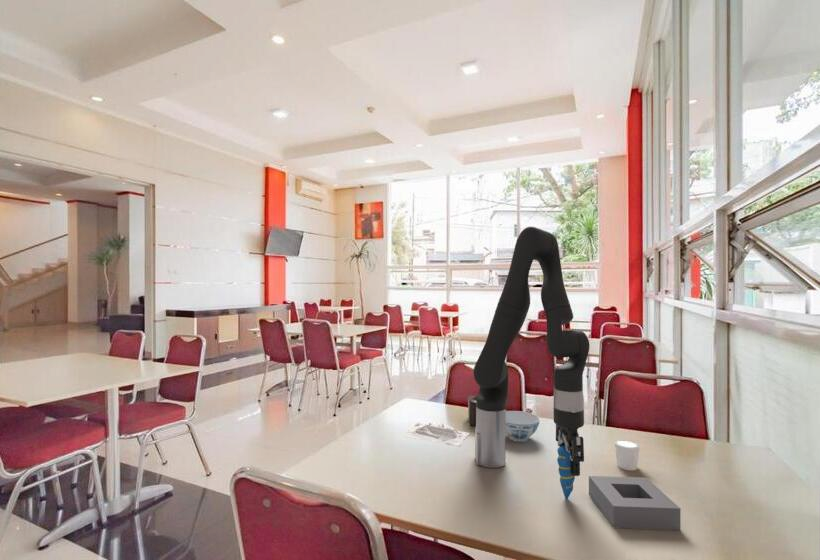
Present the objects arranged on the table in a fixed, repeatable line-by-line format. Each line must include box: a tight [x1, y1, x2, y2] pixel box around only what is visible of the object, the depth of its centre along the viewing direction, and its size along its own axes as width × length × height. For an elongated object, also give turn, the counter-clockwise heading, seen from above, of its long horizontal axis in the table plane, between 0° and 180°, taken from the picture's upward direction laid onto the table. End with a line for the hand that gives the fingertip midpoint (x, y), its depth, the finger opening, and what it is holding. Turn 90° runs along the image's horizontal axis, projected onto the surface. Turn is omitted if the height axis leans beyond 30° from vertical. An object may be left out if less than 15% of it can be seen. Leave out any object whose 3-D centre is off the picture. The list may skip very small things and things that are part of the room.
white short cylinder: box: [614, 439, 640, 471], centre depth 127 cm, size 7×7×7 cm
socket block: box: [588, 475, 681, 531], centre depth 102 cm, size 15×15×5 cm
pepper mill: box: [467, 385, 480, 427], centre depth 169 cm, size 16×11×18 cm
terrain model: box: [404, 422, 470, 447], centre depth 153 cm, size 17×23×5 cm
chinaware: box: [506, 410, 541, 443], centre depth 150 cm, size 15×15×8 cm
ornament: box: [556, 446, 577, 500], centre depth 108 cm, size 5×5×15 cm
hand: (569, 467), depth 108 cm, fingers open, 8 cm apart
